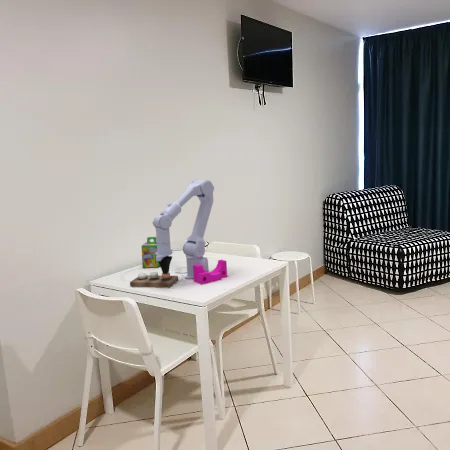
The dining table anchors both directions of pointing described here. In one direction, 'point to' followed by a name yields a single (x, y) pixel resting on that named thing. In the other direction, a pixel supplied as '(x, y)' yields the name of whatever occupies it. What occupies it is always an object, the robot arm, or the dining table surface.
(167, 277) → the terracotta button
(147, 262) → the chalk box
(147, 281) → the button panel
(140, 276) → the grey button
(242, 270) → the dining table surface
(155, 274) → the sage button
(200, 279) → the toy block
